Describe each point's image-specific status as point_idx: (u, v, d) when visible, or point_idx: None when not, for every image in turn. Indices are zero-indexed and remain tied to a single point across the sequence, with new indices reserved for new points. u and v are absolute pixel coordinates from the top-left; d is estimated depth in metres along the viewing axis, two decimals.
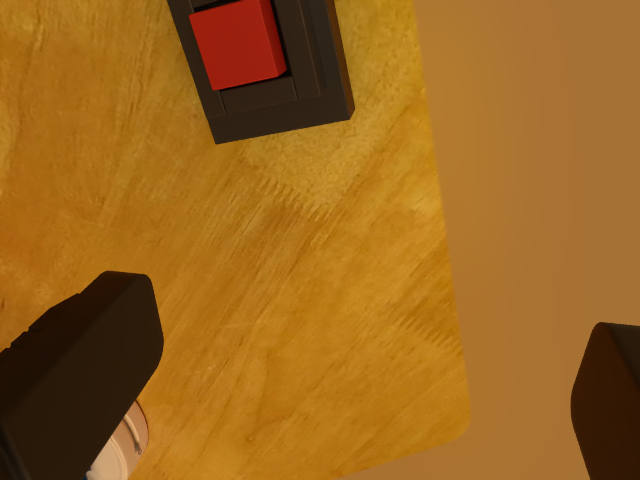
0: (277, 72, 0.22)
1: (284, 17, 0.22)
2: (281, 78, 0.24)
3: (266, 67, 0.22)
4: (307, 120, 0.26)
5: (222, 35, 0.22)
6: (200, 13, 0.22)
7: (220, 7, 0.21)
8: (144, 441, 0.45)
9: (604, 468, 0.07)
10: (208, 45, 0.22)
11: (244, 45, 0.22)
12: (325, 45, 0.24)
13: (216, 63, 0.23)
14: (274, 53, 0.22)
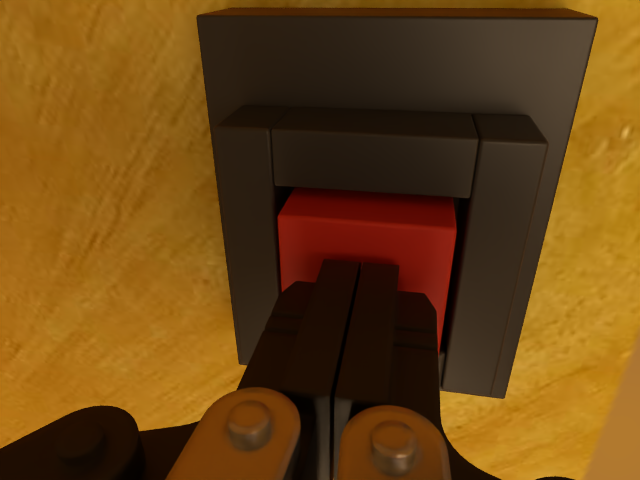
0: None
1: (477, 260, 0.10)
2: None
3: None
4: None
5: None
6: (307, 220, 0.09)
7: (359, 223, 0.09)
8: None
9: None
10: (304, 279, 0.10)
11: None
12: None
13: None
14: (442, 322, 0.10)
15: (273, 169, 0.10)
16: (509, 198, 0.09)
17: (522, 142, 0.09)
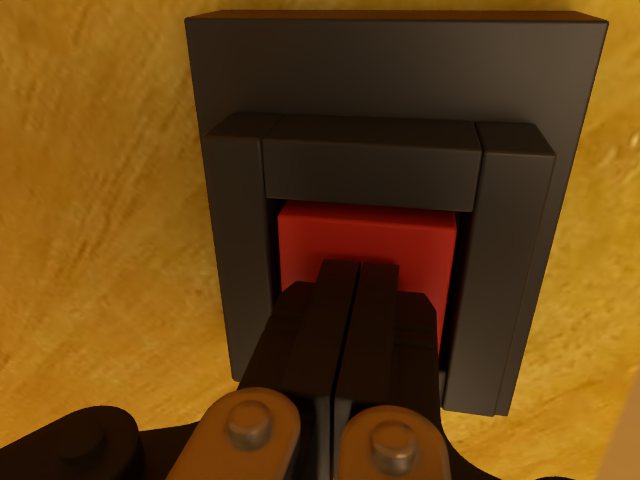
0: None
1: (480, 277, 0.09)
2: None
3: None
4: None
5: None
6: (307, 220, 0.09)
7: (359, 223, 0.09)
8: None
9: None
10: (304, 279, 0.10)
11: None
12: None
13: None
14: (442, 323, 0.10)
15: (264, 181, 0.09)
16: (514, 212, 0.09)
17: (528, 154, 0.08)
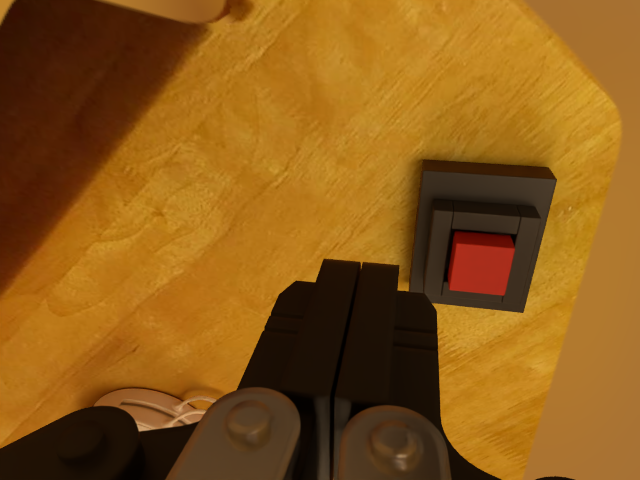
0: None
1: (518, 254, 0.30)
2: None
3: (498, 288, 0.30)
4: (490, 305, 0.34)
5: (476, 261, 0.29)
6: (466, 244, 0.29)
7: (483, 246, 0.29)
8: None
9: None
10: (461, 264, 0.30)
11: (489, 272, 0.30)
12: None
13: (461, 275, 0.30)
14: (506, 280, 0.30)
15: (452, 223, 0.30)
16: (529, 234, 0.29)
17: (533, 218, 0.29)
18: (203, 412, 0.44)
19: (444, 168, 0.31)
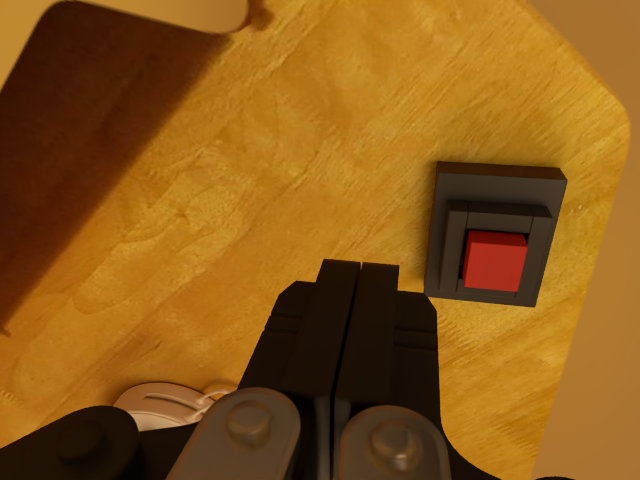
0: None
1: (530, 252, 0.31)
2: None
3: (512, 285, 0.31)
4: (503, 300, 0.36)
5: (490, 259, 0.31)
6: (480, 244, 0.30)
7: (497, 245, 0.30)
8: None
9: None
10: (476, 262, 0.31)
11: (503, 269, 0.31)
12: None
13: (476, 273, 0.31)
14: (519, 277, 0.31)
15: (466, 223, 0.31)
16: (541, 233, 0.31)
17: (545, 217, 0.30)
18: None
19: (458, 170, 0.32)
